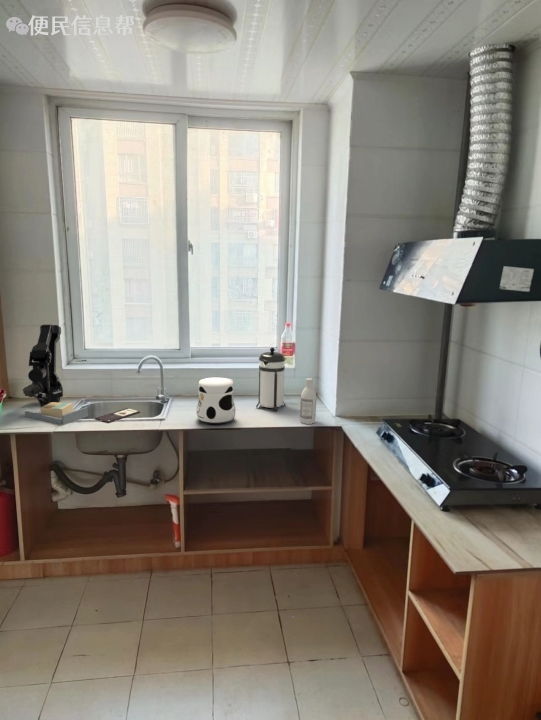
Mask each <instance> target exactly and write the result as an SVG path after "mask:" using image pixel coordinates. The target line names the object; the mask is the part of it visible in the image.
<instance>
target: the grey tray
mask: <svg viewBox="0 0 541 720" xmlns="http://www.w3.org/2000/svg"><path fill="white" fill-rule="evenodd" d="M88 410H89V407H87V406H85V407H82V408H79V409H75V410H73V412H70V413H67V414H64V415H62V419H61V418H56V417H52V416H47V415H43V414H41V410H39V411H36V412H33V411H27V410H25V411H24V417H28V418H33V419H35V420H40V421H41V420H42V421H45V422H50V423H55V424H59V425H62V426H65V425H67V424H71V423H74V422H77V421H79V420H81V419H84V418H87V417H89V411H88Z"/></svg>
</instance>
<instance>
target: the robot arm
mask: <svg viewBox="0 0 541 720" xmlns="http://www.w3.org/2000/svg"><path fill="white" fill-rule="evenodd" d="M61 334H62V328H61V326H59V325H58V324H41V325H40V326H39V336H38V339H37V343H36V344H35V345H34V346H32V348H31V350H30V352H29V356H28V357H29V360H28V366H29V367H32V369H31V370H30V371H29V372H28V375H27V376H28V380H29V381H31V382H32V383H30V384H29V385H27V386H24V388H23V389H22V394H23V395H24V396H25V397H28V398H34V399H36V400H37V401H38V403H39V405H40V408H41V407H43V406H45V405H47V404H49V403H51V402H57V403H61V398H62V397H63V398H64V389H63V386H62V382H61V381H60V377H59V375H58V374H57V344H58V341H59V340H60V339H61Z"/></svg>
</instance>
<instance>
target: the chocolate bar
mask: <svg viewBox="0 0 541 720" xmlns="http://www.w3.org/2000/svg"><path fill="white" fill-rule="evenodd" d="M138 414H141V411H140V410H139V411H138V410H135V409H133V408H126V407H125V408H123V409H119V410H117V411H113V412H110V413H107V414H104V415H101V416H98V417H95V418H94V420H96V421H99V420H102V421H101V422H103V423H106V424H110V423H114V422H116V421H115V420H117V421H120V420H122V419H126V418H129V417H131V416H134V415H138ZM108 420H110V421H108Z"/></svg>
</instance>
